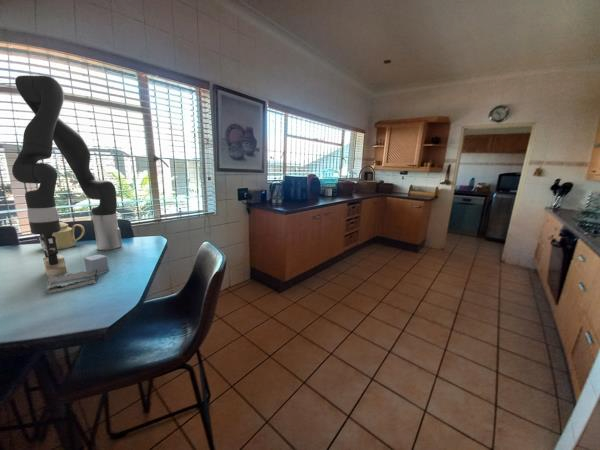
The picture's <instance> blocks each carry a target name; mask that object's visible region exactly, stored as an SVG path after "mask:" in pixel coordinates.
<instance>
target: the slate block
mask: <svg viewBox="0 0 600 450" xmlns="http://www.w3.org/2000/svg"><path fill="white" fill-rule="evenodd" d="M107 257H108V256H106V255H103V254H100V253H99V254H98V253H97V254H94V255H90V256H87V257H83V258H84V259H83V260H84V266H85V272H87V273H91V272H92V271H96V270H97V275H99V274H101V273H105V272H108V271H109V262H108V258H107Z"/></svg>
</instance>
